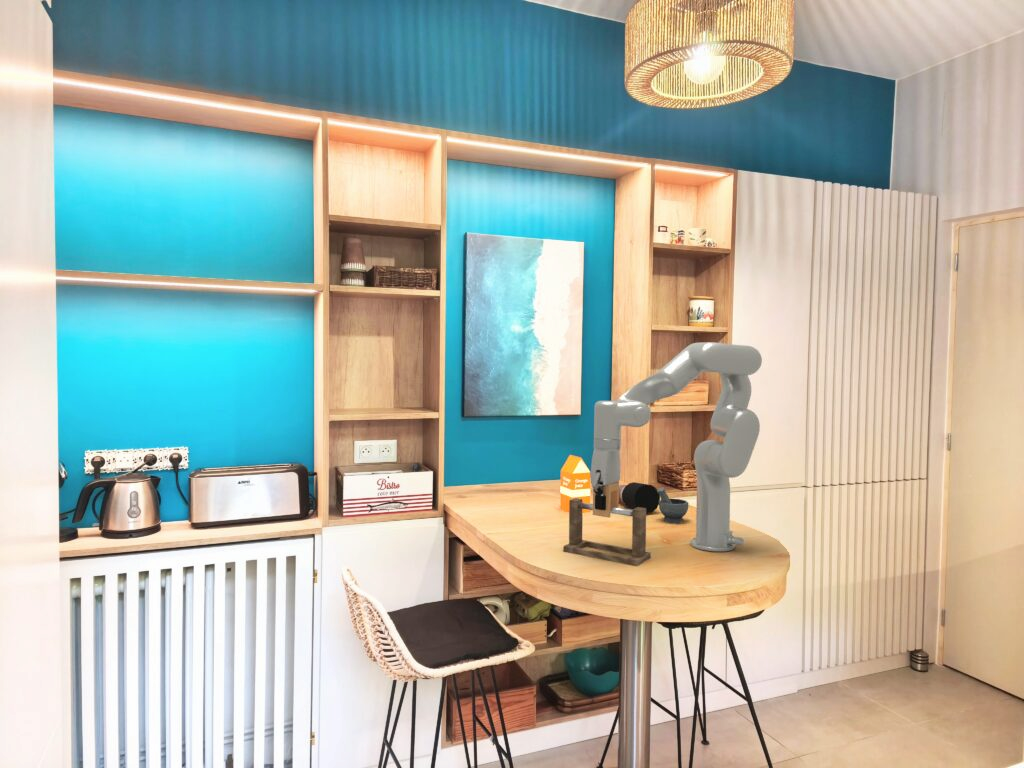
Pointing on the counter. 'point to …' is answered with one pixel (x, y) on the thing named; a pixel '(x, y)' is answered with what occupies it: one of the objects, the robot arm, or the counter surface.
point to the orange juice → (574, 482)
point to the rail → (612, 509)
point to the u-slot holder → (608, 500)
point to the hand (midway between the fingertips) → (605, 506)
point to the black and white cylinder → (639, 496)
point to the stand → (577, 544)
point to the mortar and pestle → (672, 507)
